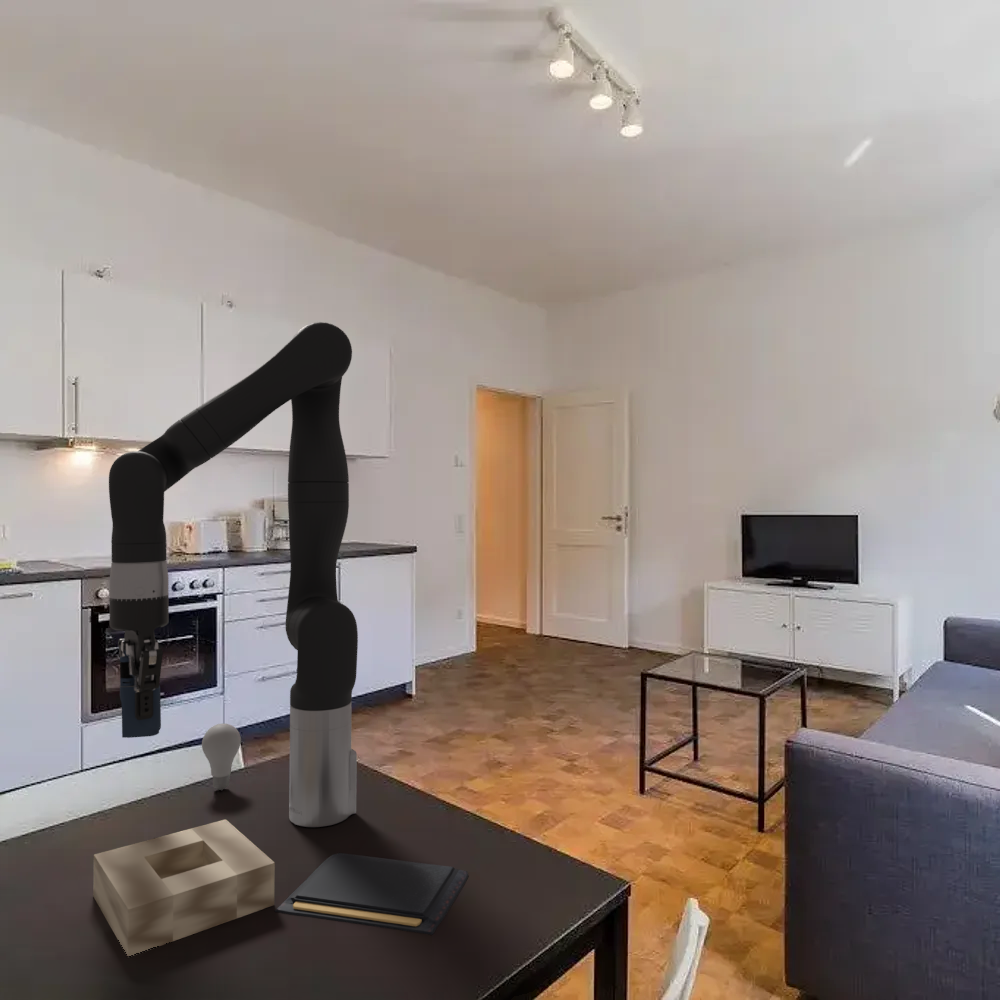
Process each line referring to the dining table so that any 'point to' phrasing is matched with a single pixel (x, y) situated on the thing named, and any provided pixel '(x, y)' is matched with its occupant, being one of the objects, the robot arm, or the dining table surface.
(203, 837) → the holder block
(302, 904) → the black book
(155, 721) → the vaping device
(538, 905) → the dining table surface
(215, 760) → the lightbulb
